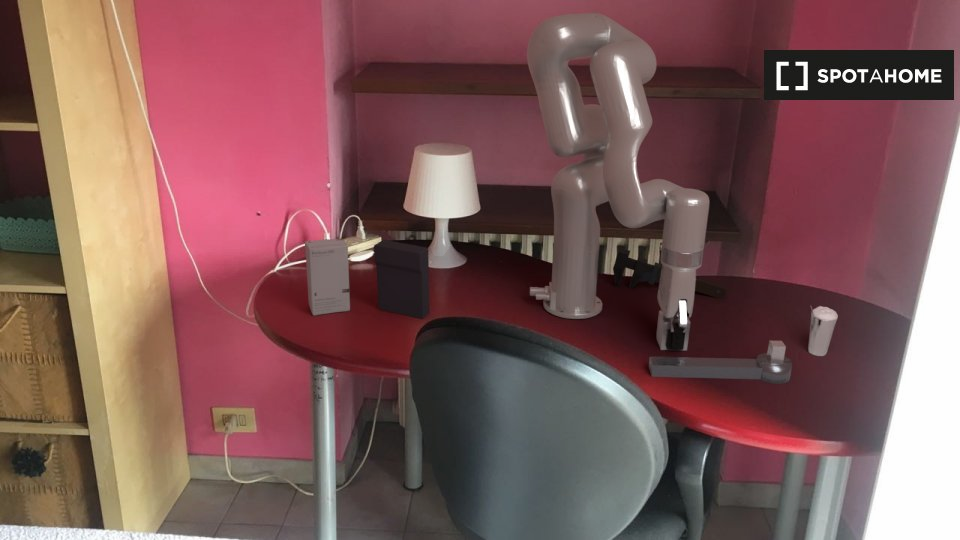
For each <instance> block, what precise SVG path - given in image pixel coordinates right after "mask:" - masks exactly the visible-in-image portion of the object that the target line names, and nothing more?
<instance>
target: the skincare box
mask: <svg viewBox="0 0 960 540" xmlns="http://www.w3.org/2000/svg"><path fill="white" fill-rule="evenodd" d="M304 248H305V249H304V250H305V263H306V279H307V280H306V281H307V295H308V297H307V298H308V306H309V309H310V312H311V314H312V316H314V317H315V316H319V315H320V316H321V315H327V314H334V313H339V312H340V313H341V312H349V311H351V299H350V297H351V296H350V275H349V273H350V272H349V267H350V266H349V246H348V244H347V242H346V241H345V240H344V239H343V238H330V239H329V238H326V239H325V238H324V239H317V240H307V241H304Z"/></svg>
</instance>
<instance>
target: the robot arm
mask: <svg viewBox="0 0 960 540" xmlns="http://www.w3.org/2000/svg"><path fill="white" fill-rule="evenodd" d="M589 58H590V60H589V61H590V62H589V71H590V74H591V75H590V77H591V79H592V83H593V86H594V90H595V93H596V98H597V100H598V104H594V103H593V104H591V103H589V104H585V102H584V101H583V95H582V91H581V86H580V83H579V81H578V78H577V77H576V74H575V73H574V72H573V71H572V69H571V68H570V67H569V62H570V61H575V60H583V59H589ZM526 59H527V60H526V61H527V66H528V69H529V72H530V75H531V79H532V82H533V83H534V87H535V91H536V95H537V98H538V102H539V103H538V104H539V109H540V113H541V117H542V122H543V127H544V132H545V135H546V139H547V142H548V146H549V148H550V150H551V152H552V153H553V154H554V155H555V156H557V157H559V158H563V159H564V158H565V159H567V158H573V157H578V156H581V155H582V158H583V160H581V161H578V162H574V163H572V164H568V165H566V166H565V167H562V168H561V169H560V170H559V171H558V172H557V173H556V174H555V175H554V176H553V179H552V182H551V187H550V190H551V191H550V193H551V202H552V206H553V207H552V208H553V244H552V245H553V248H552V266H551V267H552V269H551V271H552V272H551V281H549V285H545V286H544V287H538V286H534V287H533V286H530V287H529V296H531V297H535V301H536V300H538V301H539V300H541V301H542V300H543V305H542V306H543V309H545V310H546V311H547V312H548V313H550V314H551V315H554V316H557V317H558V318H564V319H568V320H569V319H572V320H581V319H582V320H583V319H589V318H592V317H595V316H597V315H598V314H600V313H601V312H602V310H603V302H602V300H601V298H599V297H598V296H597V283H598V282H597V281H598V270H599V269H598V268H599V258H600V257H599V256H600V243H601V241H600V240H601V226H600V225H601V224H600V220H599V217H598V215H597V211H596V207H597V206H600V205H603V204H604V203H607V202H608V203H609V205H610V208H611V211H612V213H613V215H614V217H615V218H616V220H617V221H618V222H619V223H620V224H621V225H622V226H623V227H626V228H629V229H638V228H643V227H645V226H647V225H650V224H651V223H654V222H657V221H661V220H664V223H663V231H662V243H661V249H660V264H662V265H661V268H662V269H661V275H660V278H659V279H660V282H659V283H658V289H657V295H656V296H657V302H658V305H659V307H660V311H662V312H663V314H664V316H665V317H666V318H669V317H670V330H668V334H667V343H666V348H667V350H666V351H684V350H683V348H684V340H685V332H686V327H687V319H689V320H690V318H691V317H692V315H693V311H694V303H695V292H696V291H695V282H696V277H697V270H698V269H699V268H701V267H702V265H703V264H702V263H703V257H704V256H703V255H704V250H705V249H704V248H705V240H706V235H707V234H706V233H707V226H708V218H709V211H710V197H709V195H708V194H707V193H706V192H705V191H702V190H700V189H697V188H686V187H683V186H680V185H679V184H675V183H673V182H672V181H669V180H666V179H661V178H654V179H651V180H648V181H645V182H642V183H641V182H640V178H639V173H638V165H637V162H638V161H637V160H638V154H639V151H640V147H641V145H642V143H643V141H644V139H645V137H646V136H647V135H648V133H649V131H650V129H651V128H652V125H653V117H652V114H651V111H650V110H651V109H650V107H649V104H648V100H647V95H646V92H645V89H644V85H645V84H647V83H648V82H649V81H651V80H652V78H653V77H654V75H655V73H656V70H657V56H656V54H655V52H654V50H653V49H652V47H651V46H650V45H649V44H648V43H647V42H646V41H645V40H644V39H642V38H641V37H640V36H638V35H636V34H635V33H633V32H632V31H631V30H629V29H627V28H625V27H624V26H622V25H621V24H620V23H618V22H617V21H615V20H613V19H612V18H610V17H608V16H607V15H605V14H602V13H598V12H582V13H567V14H559V15H555V16H551V17H548V18H547V19H545V20H543V21H541V22H540V23H539V24H538V25H537V26H536V27H534V30H533V32H532V33H531V35H530V37H529V40H528V44H527V49H526ZM675 313H678V314H679V315H675ZM674 319H679V321H678V323H675V325H674Z"/></svg>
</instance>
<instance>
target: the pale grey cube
mask: <svg viewBox="0 0 960 540" xmlns="http://www.w3.org/2000/svg"><path fill="white" fill-rule="evenodd" d="M675 315H679V314H678V313H675ZM657 318H658V319H657V328H656V337H655V338H656V341H657V344H658V346H659V348H660V350H661V351H668V350H667V348H666V343H667V334H668V330H670V317H669V318H666V317H665V316H664V314H663V312H662V310H658V317H657ZM678 321H679V319H674V325H675V323H678ZM690 329H691V320H690V318H689V319H687V327H686V332H685V340H684V348H683V350H682V351H688V345H689V338H690V337H689V336H690Z"/></svg>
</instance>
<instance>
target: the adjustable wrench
mask: <svg viewBox="0 0 960 540" xmlns="http://www.w3.org/2000/svg"><path fill="white" fill-rule="evenodd" d="M630 253H631V250H628V249H625V248H623V247H619V249H618V252H617V254H616V258H615V260H614V264H613V266H612V271H613V281H614V287H617V288H620V283H621V280H622V278H623V275H624V272H625V269H629V270H632V271H633V273H632V276H631V278H630V281H629V284H628V288H629V289H633V288H634V287H636V285H638V283H640V282H648V285H649V284H650V285H652V286H654V284H655V283H657V284H659V282H660V275H661V269H662V266H661V263H659V262H657V261H655V262H654V264H651V263H648V259H646V258H642V257H640V256H638V258H637V259H635V258H631V257H630ZM660 266H661V267H660ZM727 289H728V287H727V286H726V285H724V284H720V283H717V282H715V281H710V280H707V279H704V278H700V277H698V276H696V282H695V292H697V293H699V294H703V295H707V296H710V297H714V298H716V299H724V298H725V295H726V293H727V291H728V290H727Z"/></svg>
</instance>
